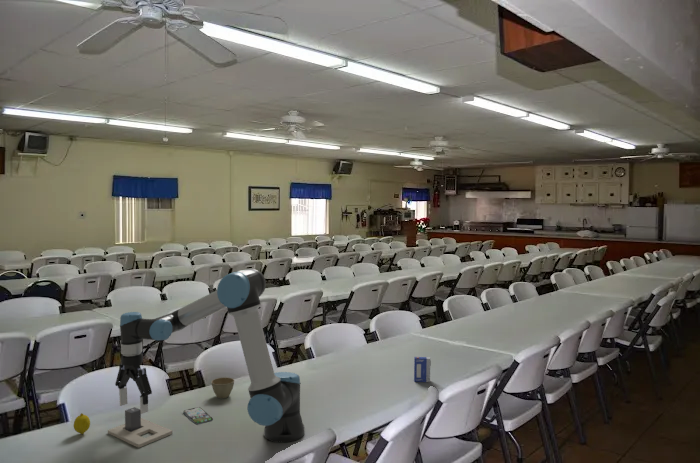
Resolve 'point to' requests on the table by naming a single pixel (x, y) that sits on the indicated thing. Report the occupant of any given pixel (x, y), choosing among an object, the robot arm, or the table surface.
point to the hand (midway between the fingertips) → (133, 408)
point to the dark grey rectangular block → (132, 419)
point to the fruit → (82, 423)
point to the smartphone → (197, 415)
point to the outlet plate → (140, 433)
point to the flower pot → (222, 386)
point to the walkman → (422, 369)
